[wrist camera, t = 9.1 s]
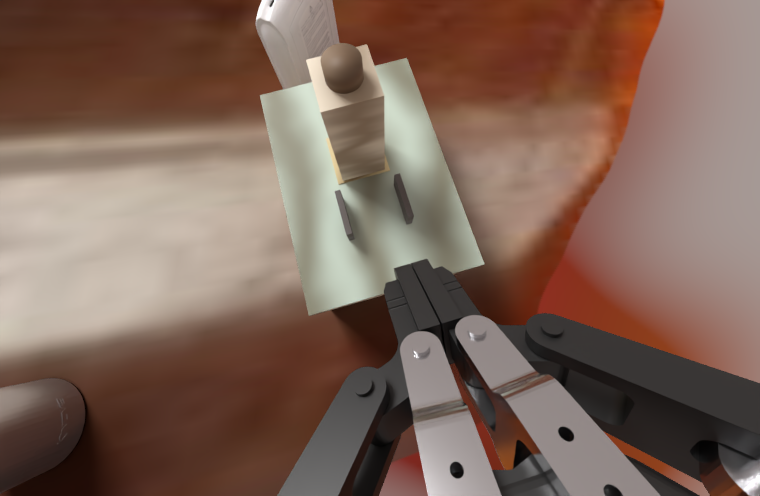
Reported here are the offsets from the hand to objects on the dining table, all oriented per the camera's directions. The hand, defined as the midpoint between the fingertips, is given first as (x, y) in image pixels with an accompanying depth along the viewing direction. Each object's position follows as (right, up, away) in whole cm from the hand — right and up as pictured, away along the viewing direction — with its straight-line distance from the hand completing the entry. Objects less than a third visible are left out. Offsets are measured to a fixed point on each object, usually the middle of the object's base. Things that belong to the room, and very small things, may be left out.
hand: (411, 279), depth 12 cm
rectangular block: (-3, +7, +22) cm, 23 cm away
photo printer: (-10, +25, +26) cm, 37 cm away
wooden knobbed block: (-3, +10, +14) cm, 17 cm away
